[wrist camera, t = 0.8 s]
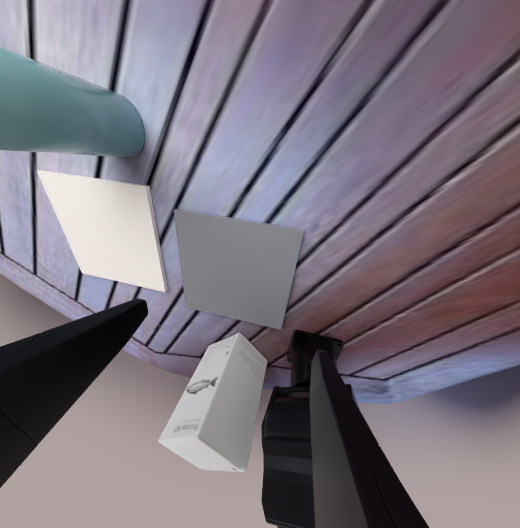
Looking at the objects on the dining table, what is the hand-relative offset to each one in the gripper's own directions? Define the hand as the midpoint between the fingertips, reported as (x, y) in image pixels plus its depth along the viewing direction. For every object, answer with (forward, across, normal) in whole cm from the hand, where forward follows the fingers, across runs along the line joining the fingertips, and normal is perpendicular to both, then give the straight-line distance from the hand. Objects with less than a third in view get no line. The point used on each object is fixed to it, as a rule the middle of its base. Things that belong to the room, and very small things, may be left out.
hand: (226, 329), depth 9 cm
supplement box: (+13, +2, +20) cm, 24 cm away
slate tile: (+12, +3, +5) cm, 14 cm away
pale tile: (+12, +20, +4) cm, 24 cm away
